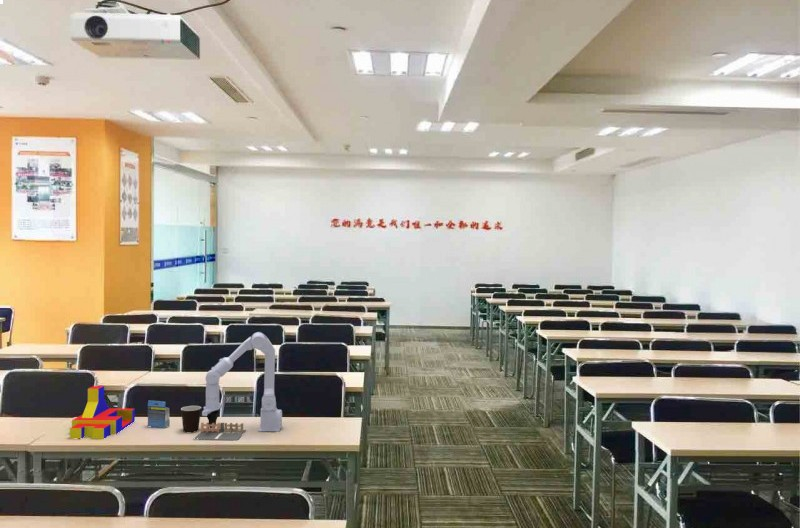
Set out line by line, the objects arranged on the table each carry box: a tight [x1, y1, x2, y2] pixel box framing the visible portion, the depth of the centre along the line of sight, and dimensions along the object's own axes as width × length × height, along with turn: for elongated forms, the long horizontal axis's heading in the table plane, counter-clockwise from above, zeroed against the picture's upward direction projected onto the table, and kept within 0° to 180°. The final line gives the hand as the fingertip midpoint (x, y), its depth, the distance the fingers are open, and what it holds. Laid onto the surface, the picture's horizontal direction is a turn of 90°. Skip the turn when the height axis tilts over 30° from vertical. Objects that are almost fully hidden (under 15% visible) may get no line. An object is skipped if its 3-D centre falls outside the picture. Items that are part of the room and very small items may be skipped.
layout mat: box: [194, 429, 247, 441], centre depth 252 cm, size 19×14×1 cm
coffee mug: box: [180, 405, 202, 433], centre depth 260 cm, size 12×9×10 cm
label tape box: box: [147, 400, 171, 428], centre depth 263 cm, size 9×4×12 cm, turn 82°
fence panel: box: [200, 422, 221, 432], centre depth 255 cm, size 8×1×4 cm, turn 90°
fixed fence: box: [219, 422, 244, 433], centre depth 255 cm, size 10×2×4 cm, turn 90°
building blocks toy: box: [69, 385, 136, 440], centre depth 257 cm, size 19×25×18 cm
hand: (212, 427), depth 256 cm, fingers closed
